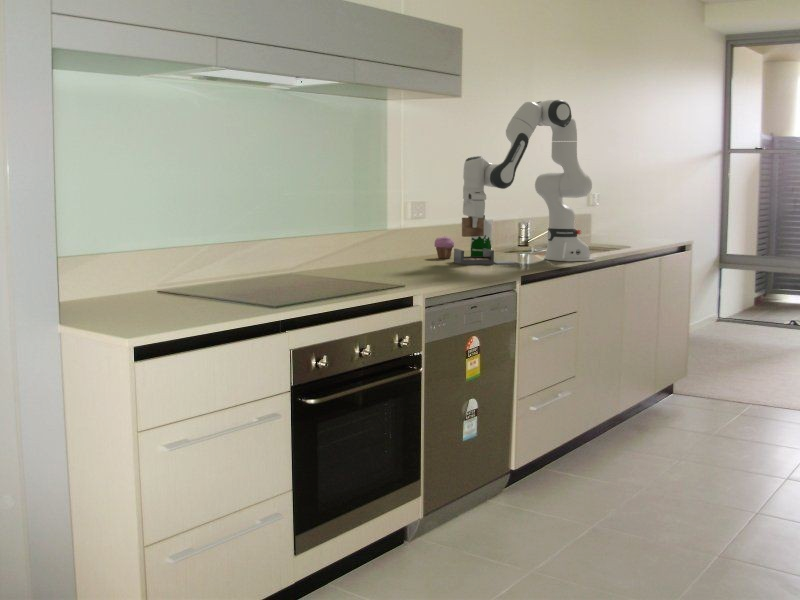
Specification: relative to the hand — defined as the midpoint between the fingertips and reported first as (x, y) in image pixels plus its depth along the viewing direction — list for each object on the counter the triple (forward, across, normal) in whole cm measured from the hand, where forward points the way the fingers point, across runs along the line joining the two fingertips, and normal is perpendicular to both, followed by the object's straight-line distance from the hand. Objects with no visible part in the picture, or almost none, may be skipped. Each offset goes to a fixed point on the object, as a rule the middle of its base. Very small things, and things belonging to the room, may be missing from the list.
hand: (472, 227), depth 379 cm
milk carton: (+16, -14, +8) cm, 23 cm away
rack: (+15, +3, 0) cm, 16 cm away
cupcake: (+16, -19, -8) cm, 26 cm away
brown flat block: (+4, 0, 0) cm, 4 cm away
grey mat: (+15, +4, +14) cm, 21 cm away
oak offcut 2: (+16, +6, +2) cm, 17 cm away
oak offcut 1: (+15, +6, -4) cm, 17 cm away
